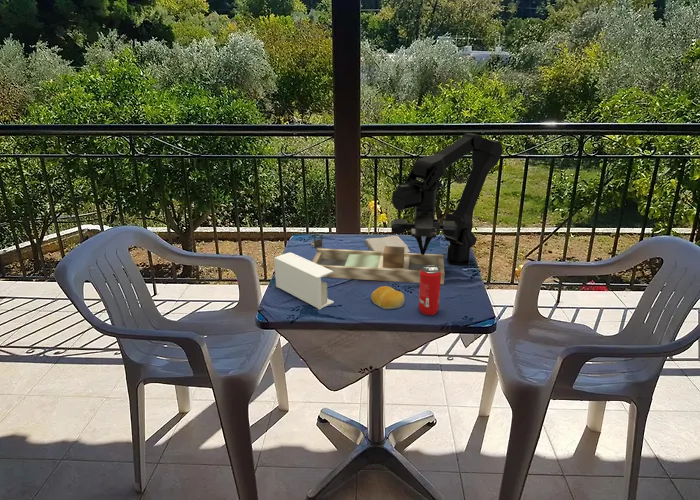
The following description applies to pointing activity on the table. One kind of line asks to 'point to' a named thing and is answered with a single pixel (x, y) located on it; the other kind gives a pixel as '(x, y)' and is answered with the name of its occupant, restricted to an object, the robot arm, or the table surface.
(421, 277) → the beverage can
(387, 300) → the bread roll
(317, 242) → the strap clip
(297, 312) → the table surface
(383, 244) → the washcloth
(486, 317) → the table surface
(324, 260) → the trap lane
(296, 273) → the white plastic beam
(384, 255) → the walnut block
